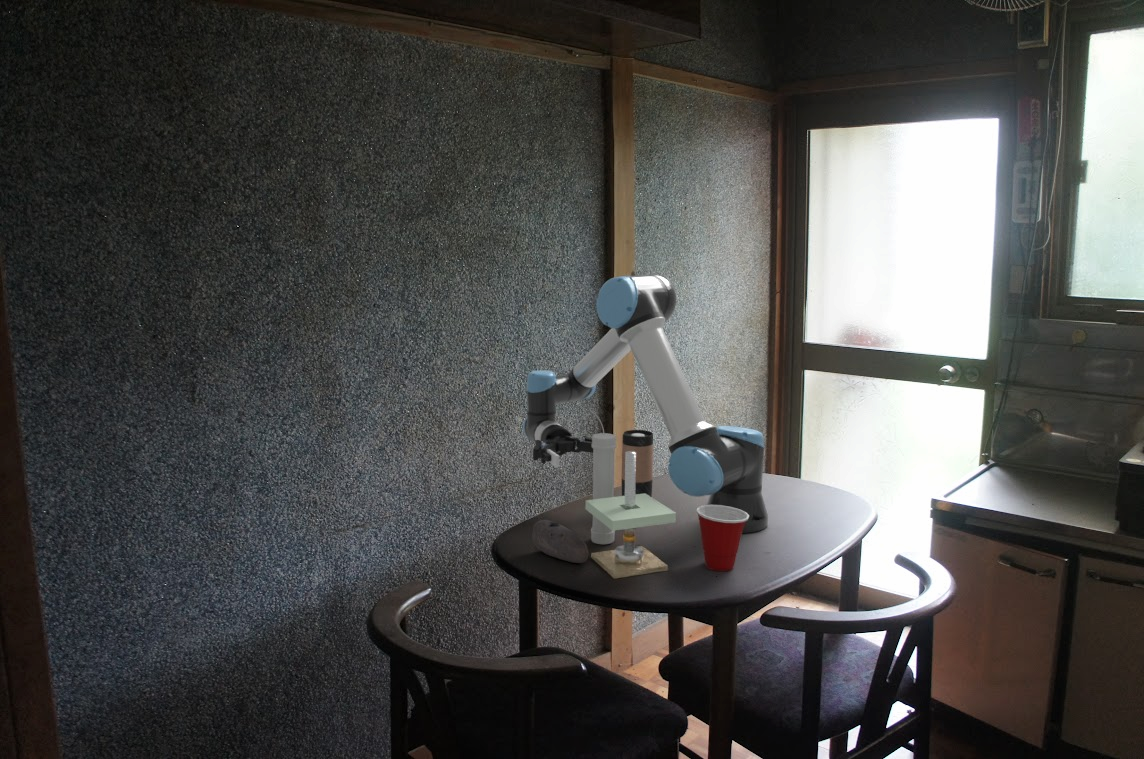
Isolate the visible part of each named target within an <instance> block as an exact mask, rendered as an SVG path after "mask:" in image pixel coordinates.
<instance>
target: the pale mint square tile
mask: <svg viewBox="0 0 1144 759" xmlns="http://www.w3.org/2000/svg"><path fill="white" fill-rule="evenodd" d="M624 505H625V496H622V495H619V496H614V497H609V498H601V499H593V498H592V499H587V500H585V510H586V511H587V512H588V513H589V514H591V515H592V517H593V516H595V517H596V518H597V519H598V520H600V521H601V522H602V523H603V524H605V525H606V526H607V527H608V528H610V529H611V530H612V531H614V530H615V531H620V530H624V529H630V528H643V527H645V528H646V527H650V526H651V527H652V526H658V525H666V524H673V523H677V522H676V521H677V512H675V511H674V510H672V509H671V508H670V507H668V506H666V505H664V504H663V503H661V502H659V501H658V500H657V499H655V498H654V497H650V496H649V495H647V494H646V493H644V494H635V509H629V510H625V509H624Z"/></svg>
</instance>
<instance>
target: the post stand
mask: <svg viewBox="0 0 1144 759" xmlns="http://www.w3.org/2000/svg"><path fill="white" fill-rule="evenodd" d="M635 487H636V452H634V451H627V452H625V505H624V509H625V510H629V509H635ZM635 533H636V529H635V528H630V529H623V534H622V541H623V545H622V544H621V545H619V546H616V547H614V549H611V550H603V551H596V552H591V553H590V554H591V555H590V556H591V557H590V558H591V559H592V560H593V561H594V562H595V563H597V564H598V565H599V566H600V567H601V568H602V569H603V570H604V571H606V572H607V573H608V575H610V576H611V577H612V578H613V579H620V578H622V579H623V578H627V577H633V576H634V577H635V576H639V575H645V574H646V575H647V574H653V573H659V572H666V571H668V570H669V566H668V564H666V563H665V562H664V561H662V560H661V559H659V557H657V556H656V555H655V554H653V553H652V552H651V551H650V550H648V549H647V548H646V547H644V546H643V545H635V542H636V534H635Z"/></svg>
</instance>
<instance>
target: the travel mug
mask: <svg viewBox="0 0 1144 759" xmlns="http://www.w3.org/2000/svg"><path fill="white" fill-rule="evenodd" d="M621 442H622V443H621V444H622V446H621V448H622V450H621V452H622V453H621V496H625V452H627V451H634V452H636V487H635V494H644V493H646V494H647V495H649V496H650V497H652V495H653V483H654V482H653V479H654V478H653V477H654V475H653V474H654V470H653V469H654V433H653V432H652V431H649V430H645V429H644V430H643V429H629V430H625V431H624V432H623V434H622V441H621ZM652 498H653V497H652Z"/></svg>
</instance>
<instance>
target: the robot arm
mask: <svg viewBox="0 0 1144 759" xmlns="http://www.w3.org/2000/svg"><path fill="white" fill-rule="evenodd" d="M677 300H678V299H677V293H676V290H675V288H674V286H673V285H672V283H671V281H670V282H669V280H668V279H666V278H665V277H663V276H661V275H658V274H642V275H620V276H617V277H612V278H610V279H608V280H607V281H605V282H604V283H603V285H602V286H601V287H600V289H599V291H598V296H597V298H596V312H597V315H598V318H599V320H600V322H602V324H603V325H605V326H607V327H608V328H610V329H609V331H608V332H607V333H606V334H604V336H602V338H601V339H599V341H598V342H596V344H595V345H594V346H593V347H592V348H591V349H590V350H589V351H588V352H587V353H586V354H585V355H584V356H583V357H582V358H581V359H580V361H578V362H577V363H576V365H574V367H573V368H572V369H571V370H570V371H569V372H567V373H566V374H561V375H556V373H555V372H554V371H551V370H545V369H544V370H543V369H542V370H532V371H530V372H529V373H528V374H527V381H526V401H527V402H526V404H527V405H526V406H527V408H526V409H527V412H526V417H525V418H524V421H523V422H522V431H523V434H524V435H525V436H526V437H527V439H528V440H529V441H530V442H531V443H534V447H533V448H532V460H533V461H538V460H539V459H540V463H541V464H546V463H547V462H548V463H550V464H551V465H552V466H554V467H555V468H560V456H563V455H565V454H567V453H576V454H577V453H578V454H579V453H581V452H583V453H584V452H585V453H592V454H593V448H592V437H588V436H586V435H583V436H581V437H575V436H574V437H573V435H572V433H571V431H570V430H569V429H568V428H566V427H564V426H563V425H562V424H560V423H558V422H556V412H557V411H556V409H557V405H561V404H562V405H563V404H565V403H570V402H576V401H582V400H583V401H584V400H585V399H588V398H590V397H592V396H593V395H594V393H595V390H596V389H597V384H598V383H599V382H600V381H601V380H602V379H603V378H604V377H605V376H606V375H607V374H608V373H609V372H611V370H612V369H614V368H615V366H616V365H617V364H618V363H620V362H621V361H622V359H624V357H625V356H627V355H628V354H629V352H632V354H633V356H634V358H635V360H636V363H637V365H638V367H639V370H640V371H641V374H642V375H643V377H644V378H643V379H644V381H645V382H646V385H647V387H648V389H649V392H650V394H651V396H652V398H653V401H654V403H655V405H656V407H657V409H658V412H659V414H660V417H661V419H662V420H663V422H664V425H665V426H666V429H667V431H668V434H669V435H670V436H669V437H670V439H669V442H668V444H667V447H668V450H669V452H670V456H669V458H668V463H669V464H668V465H667V470H668V474H669V477H670V480H671V481H672V483H673V484H674V486H675V487H676V488H677V489H678V490H679V491H680V492H682V493H683V494H686V495H689V496H690V497H696V498H697V497H698V498H699V497H705V496H709V497H708V500H707V502H706V505H722V506H729V507H733V508H737V509H740V510H742V511H744V512H746V513H747V514H748V515H749V518H748V520H747V521H746V523H745V525H744V528H743V531H742V533H743V534H744V533H755V532H759V531H763V530H765V529H766V528H767V527H768V524H769V513H768V510H767V508H766V504H765V501H764V496H763V492H762V491H763V489H762V487H763V470H764V469H763V468H764V453H765V452H764V451H765V445H764V439H765V437H764V434H763V433H762V432H761V431H759V430H757V429H752V428H747V427H739V426H732V425H731V426H730V425H720V426H715V425H714V424H711V423H709V422H707V421H706V420H705V418H704V416H703V413H702V411H701V409H700V407H699V404H698V402H697V401H696V398H695V395H694V394H693V391H692V390H691V388H690V385H689V383H688V381H687V379H686V376H685V374H684V372H683V369H682V368H681V366H680V363H679V361H678V359H677V357H676V354H675V353H674V350H673V348H672V346H671V344H670V342H669V340H668V337H667V335H666V333H665V331H664V329H663V328H664V325H665V323H666V322H668V320H669V319H670V318H671V316H672V315H673V313H674V311H675V309H676V306H677Z"/></svg>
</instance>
